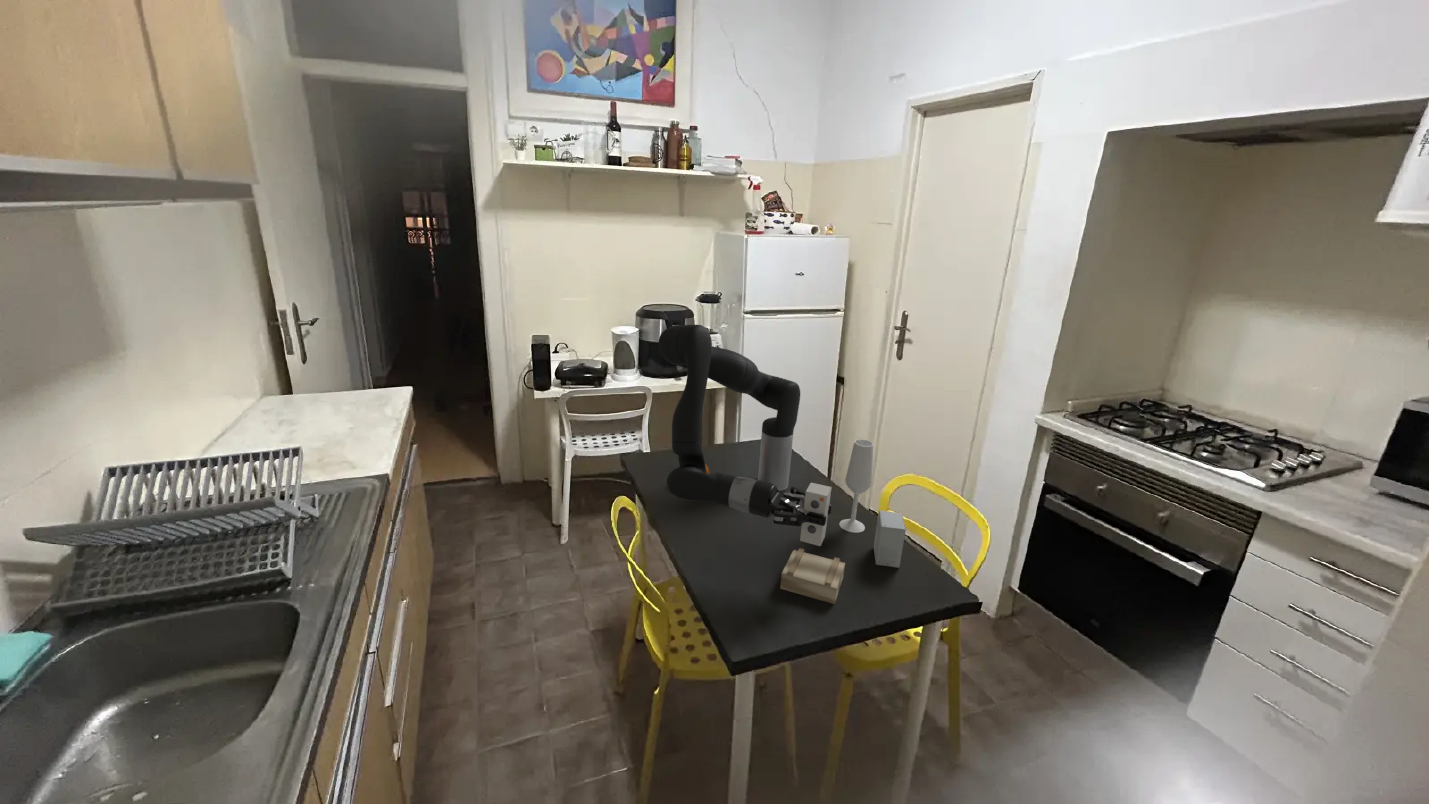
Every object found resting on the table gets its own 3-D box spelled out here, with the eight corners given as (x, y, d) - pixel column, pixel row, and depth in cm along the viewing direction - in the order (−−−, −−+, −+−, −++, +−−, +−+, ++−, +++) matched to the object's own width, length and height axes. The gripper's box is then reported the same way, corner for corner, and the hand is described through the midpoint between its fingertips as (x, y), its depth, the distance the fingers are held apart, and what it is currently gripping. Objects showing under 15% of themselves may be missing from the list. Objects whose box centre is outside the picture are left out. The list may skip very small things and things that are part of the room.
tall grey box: (805, 530, 127) (811, 482, 123) (825, 536, 125) (831, 487, 121) (799, 541, 123) (805, 491, 119) (820, 546, 121) (826, 496, 117)
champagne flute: (870, 528, 150) (883, 445, 142) (851, 535, 147) (863, 450, 139) (852, 517, 156) (864, 436, 148) (834, 522, 152) (844, 440, 145)
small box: (899, 568, 134) (906, 530, 131) (874, 565, 135) (881, 526, 132) (896, 550, 141) (902, 512, 138) (873, 546, 142) (879, 509, 139)
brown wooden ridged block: (792, 564, 134) (793, 546, 132) (843, 578, 130) (845, 560, 128) (780, 588, 125) (782, 570, 123) (834, 604, 121) (837, 585, 119)
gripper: (742, 495, 119) (823, 515, 113) (764, 469, 132) (837, 485, 126) (740, 526, 122) (818, 547, 116) (761, 497, 134) (833, 515, 128)
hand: (828, 515), depth 121 cm, fingers closed on tall grey box, 4 cm apart
